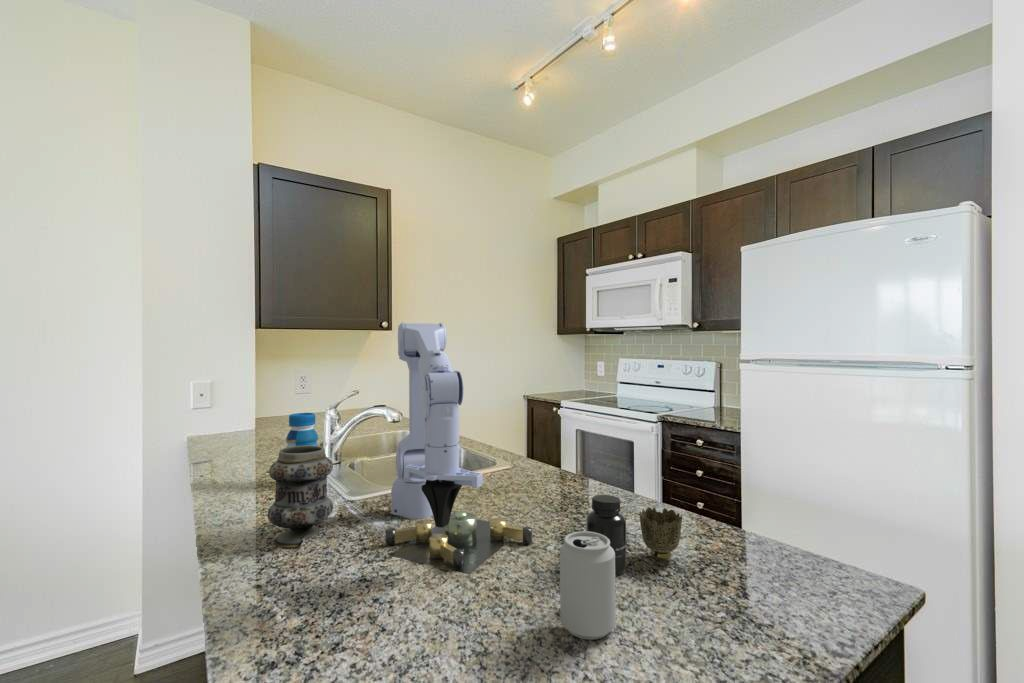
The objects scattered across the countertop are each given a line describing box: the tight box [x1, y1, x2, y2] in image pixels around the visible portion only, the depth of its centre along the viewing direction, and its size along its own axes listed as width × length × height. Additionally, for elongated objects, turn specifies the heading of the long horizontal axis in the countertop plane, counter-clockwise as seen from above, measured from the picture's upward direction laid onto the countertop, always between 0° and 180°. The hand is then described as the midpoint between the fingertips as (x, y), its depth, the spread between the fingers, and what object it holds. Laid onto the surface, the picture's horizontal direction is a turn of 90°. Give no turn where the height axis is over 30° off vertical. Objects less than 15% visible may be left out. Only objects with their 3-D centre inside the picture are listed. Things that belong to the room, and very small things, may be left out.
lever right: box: [489, 517, 533, 544], centre depth 91 cm, size 9×3×3 cm, turn 64°
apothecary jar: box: [267, 445, 334, 549], centre depth 96 cm, size 12×12×18 cm
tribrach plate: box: [388, 510, 525, 575], centre depth 91 cm, size 17×22×6 cm
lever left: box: [385, 519, 433, 546], centre depth 90 cm, size 9×3×3 cm, turn 110°
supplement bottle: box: [585, 494, 627, 577], centre depth 82 cm, size 7×7×12 cm
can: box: [559, 530, 617, 641], centre depth 65 cm, size 8×8×12 cm
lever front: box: [430, 534, 464, 568], centre depth 82 cm, size 9×3×3 cm, turn 41°
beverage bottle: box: [285, 412, 319, 448], centre depth 132 cm, size 8×8×20 cm
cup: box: [638, 507, 683, 562], centre depth 86 cm, size 8×7×8 cm
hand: (442, 525), depth 79 cm, fingers closed
